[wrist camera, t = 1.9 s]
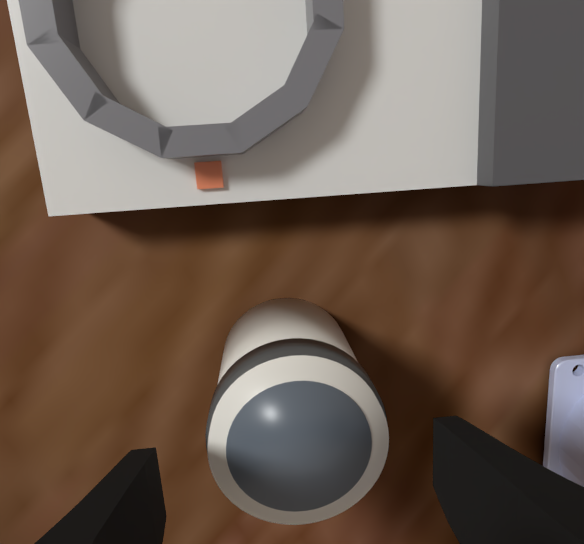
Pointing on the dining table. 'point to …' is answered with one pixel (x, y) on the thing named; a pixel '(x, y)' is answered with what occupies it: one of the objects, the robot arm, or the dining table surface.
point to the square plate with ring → (296, 97)
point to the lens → (294, 417)
